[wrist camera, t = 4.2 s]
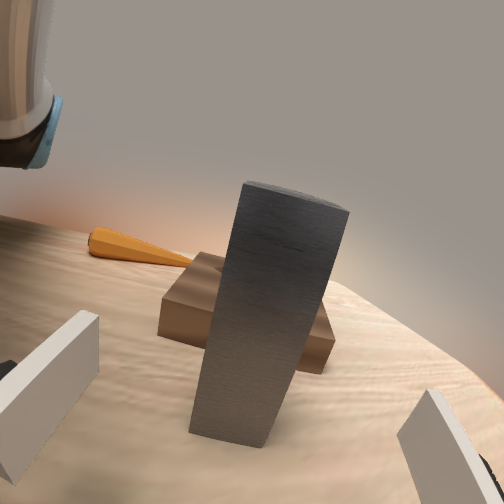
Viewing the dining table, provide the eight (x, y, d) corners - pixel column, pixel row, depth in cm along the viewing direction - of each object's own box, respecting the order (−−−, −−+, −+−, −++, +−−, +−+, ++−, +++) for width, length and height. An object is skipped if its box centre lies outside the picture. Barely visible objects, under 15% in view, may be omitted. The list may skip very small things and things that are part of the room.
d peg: (261, 448, 18) (349, 212, 14) (188, 432, 18) (243, 183, 14) (264, 402, 23) (330, 200, 19) (202, 387, 23) (250, 179, 19)
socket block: (320, 374, 28) (335, 340, 27) (157, 334, 28) (162, 297, 27) (306, 306, 44) (314, 280, 43) (194, 278, 44) (200, 251, 43)
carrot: (84, 260, 41) (87, 237, 39) (91, 241, 45) (94, 218, 42) (211, 289, 49) (221, 269, 46) (209, 269, 52) (219, 249, 50)
